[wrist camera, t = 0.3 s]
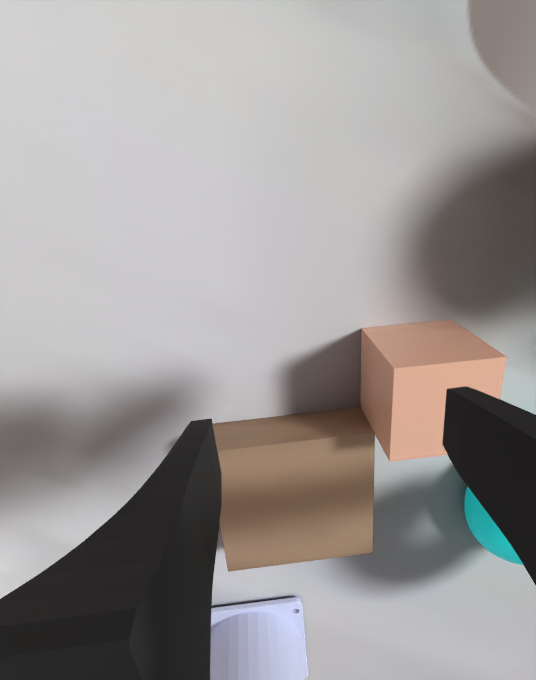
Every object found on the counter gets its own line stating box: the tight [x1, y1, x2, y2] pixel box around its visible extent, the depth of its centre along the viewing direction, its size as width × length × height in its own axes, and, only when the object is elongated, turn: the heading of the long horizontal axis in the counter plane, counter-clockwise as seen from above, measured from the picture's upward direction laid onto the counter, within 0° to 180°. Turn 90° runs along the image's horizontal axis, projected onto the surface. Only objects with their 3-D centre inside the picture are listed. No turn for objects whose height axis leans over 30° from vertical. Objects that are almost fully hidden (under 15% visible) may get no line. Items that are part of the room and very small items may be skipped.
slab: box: [213, 407, 375, 571], centre depth 24 cm, size 9×9×3 cm
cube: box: [361, 319, 507, 461], centre depth 21 cm, size 5×5×5 cm
